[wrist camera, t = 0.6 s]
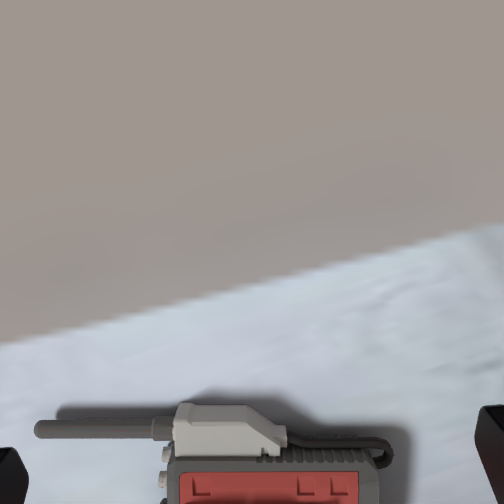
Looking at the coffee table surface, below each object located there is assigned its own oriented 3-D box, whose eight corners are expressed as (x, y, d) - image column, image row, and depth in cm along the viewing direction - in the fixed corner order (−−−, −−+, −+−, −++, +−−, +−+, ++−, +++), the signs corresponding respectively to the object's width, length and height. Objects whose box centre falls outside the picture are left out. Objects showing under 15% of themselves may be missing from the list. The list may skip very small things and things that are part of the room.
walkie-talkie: (387, 397, 26) (44, 398, 26) (414, 442, 21) (1, 444, 21) (380, 529, 27) (56, 530, 27) (404, 597, 23) (19, 598, 23)
